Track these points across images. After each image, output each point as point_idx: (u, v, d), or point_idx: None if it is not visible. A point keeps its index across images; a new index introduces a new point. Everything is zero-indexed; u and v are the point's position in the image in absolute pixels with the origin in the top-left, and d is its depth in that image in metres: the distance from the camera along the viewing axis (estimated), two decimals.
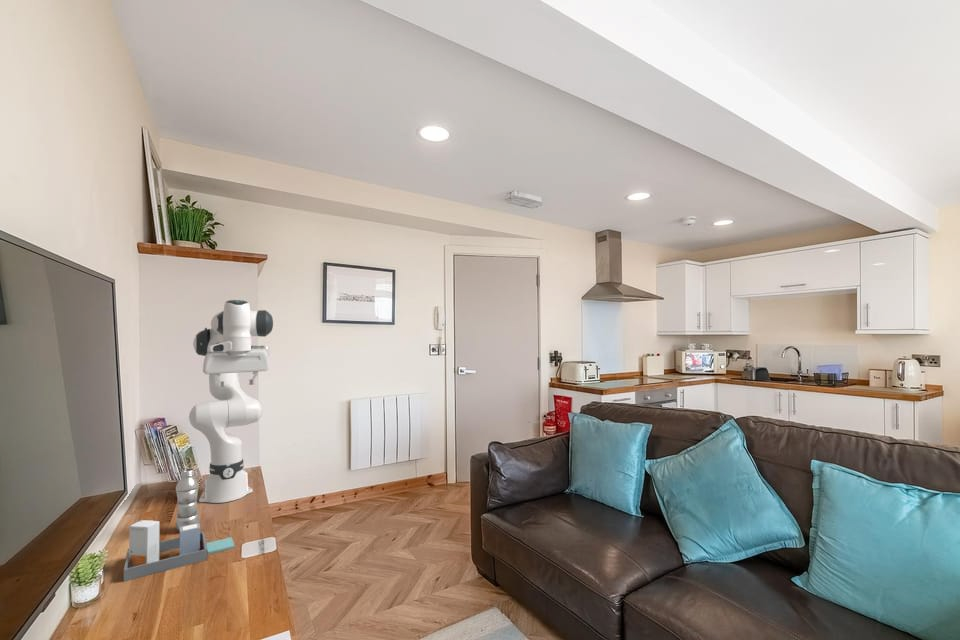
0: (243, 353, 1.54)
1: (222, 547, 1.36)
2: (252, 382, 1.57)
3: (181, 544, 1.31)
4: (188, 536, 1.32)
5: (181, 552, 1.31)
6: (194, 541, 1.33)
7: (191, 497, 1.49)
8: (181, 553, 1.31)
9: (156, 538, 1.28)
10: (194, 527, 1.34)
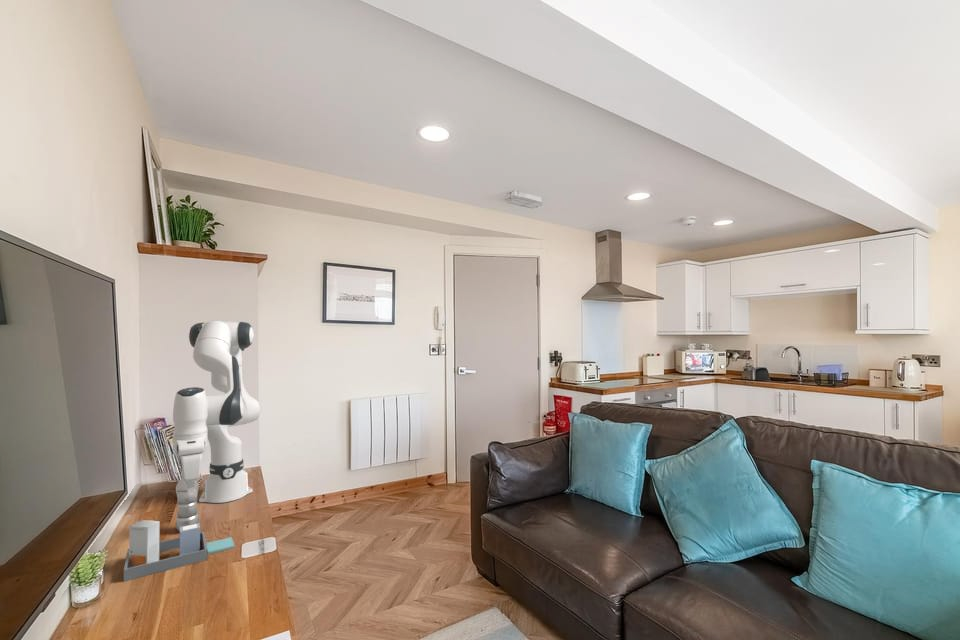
0: None
1: (222, 547, 1.36)
2: None
3: (181, 544, 1.31)
4: (188, 536, 1.32)
5: (181, 552, 1.31)
6: (194, 541, 1.33)
7: (191, 497, 1.49)
8: (181, 553, 1.31)
9: (156, 538, 1.28)
10: (194, 527, 1.34)
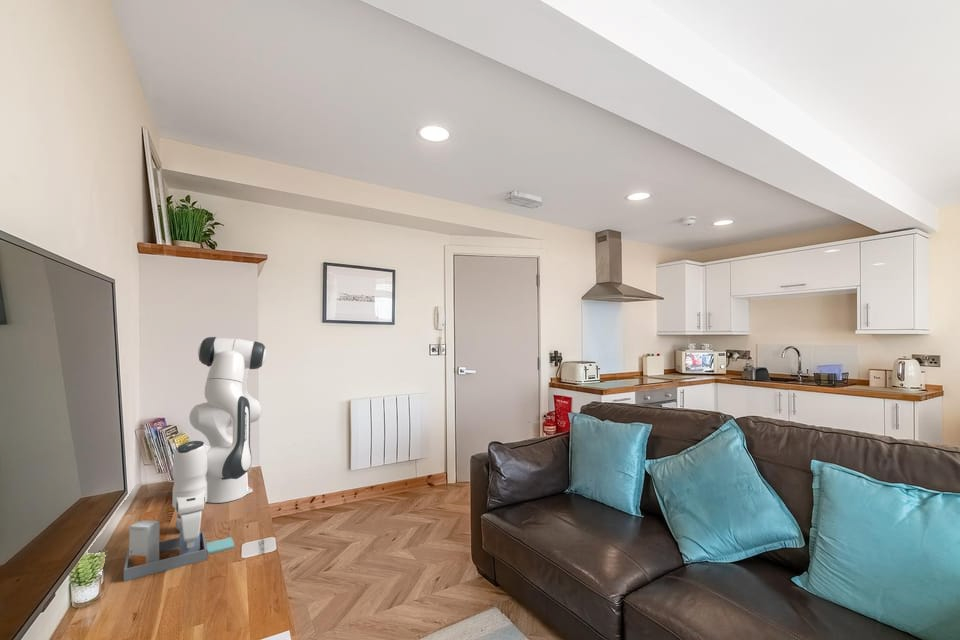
0: None
1: (222, 547, 1.36)
2: None
3: (181, 544, 1.31)
4: None
5: (181, 552, 1.31)
6: (194, 541, 1.33)
7: None
8: (181, 553, 1.31)
9: (156, 538, 1.28)
10: None
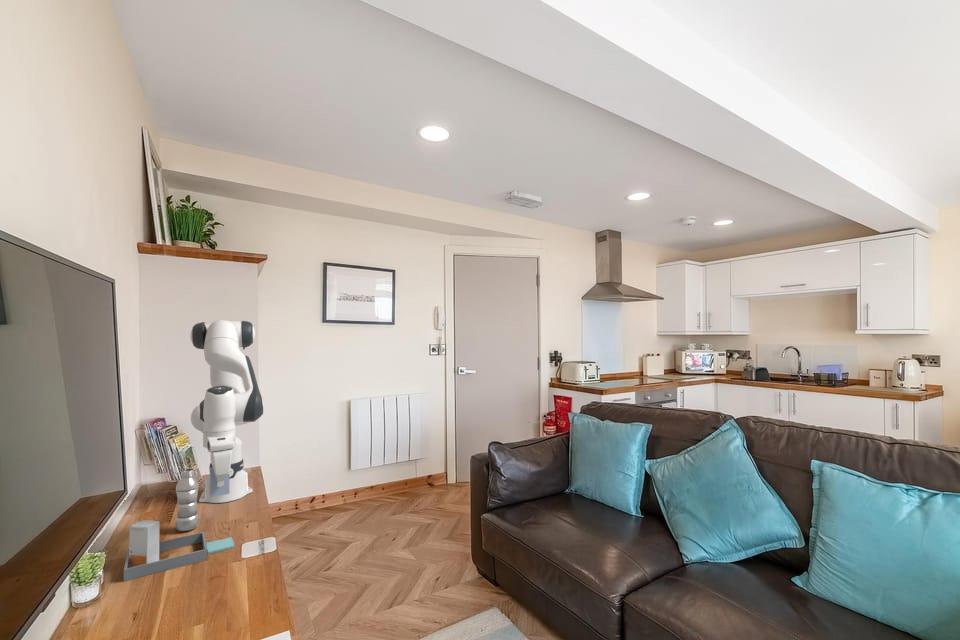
0: None
1: (222, 547, 1.36)
2: None
3: (212, 483, 1.36)
4: None
5: (212, 490, 1.36)
6: None
7: (191, 497, 1.49)
8: (212, 491, 1.36)
9: (156, 538, 1.28)
10: None
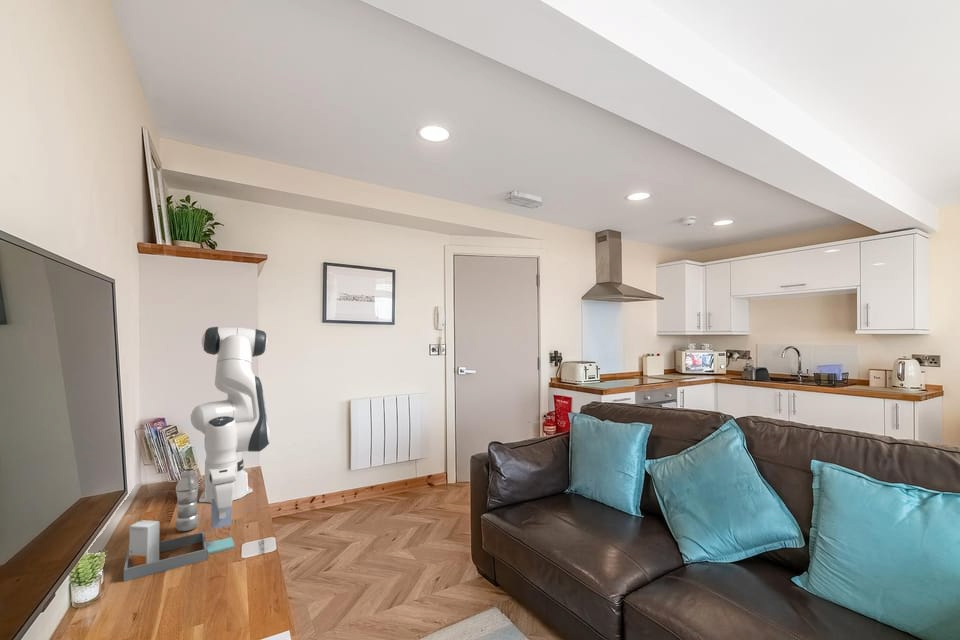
0: None
1: (222, 547, 1.36)
2: None
3: (214, 515, 1.36)
4: None
5: (214, 522, 1.36)
6: None
7: (191, 497, 1.49)
8: (214, 523, 1.36)
9: (156, 538, 1.28)
10: None
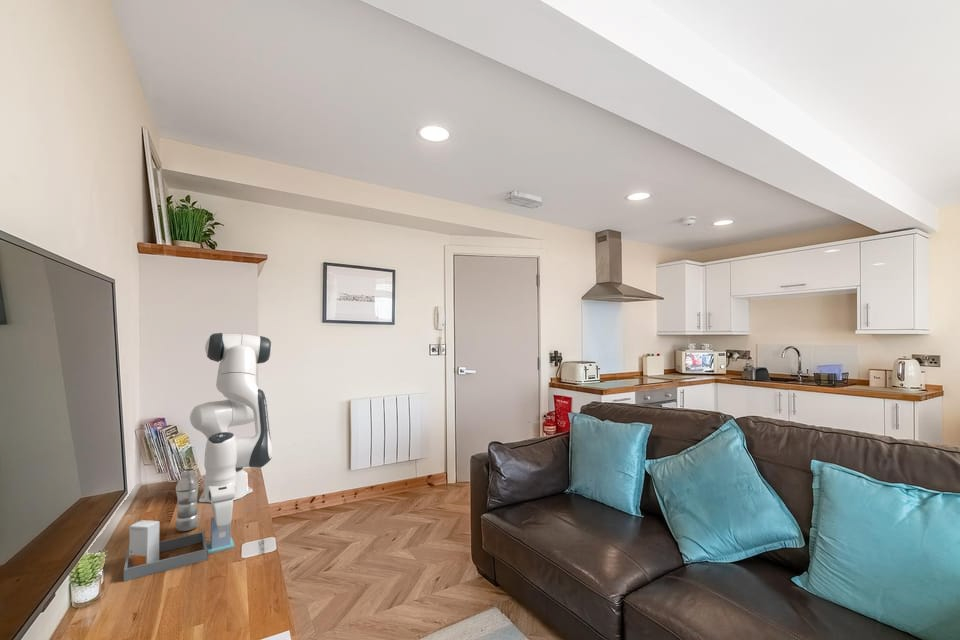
0: None
1: (222, 547, 1.36)
2: None
3: (213, 534, 1.36)
4: None
5: (213, 542, 1.36)
6: None
7: (191, 497, 1.49)
8: (213, 543, 1.36)
9: (156, 538, 1.28)
10: None
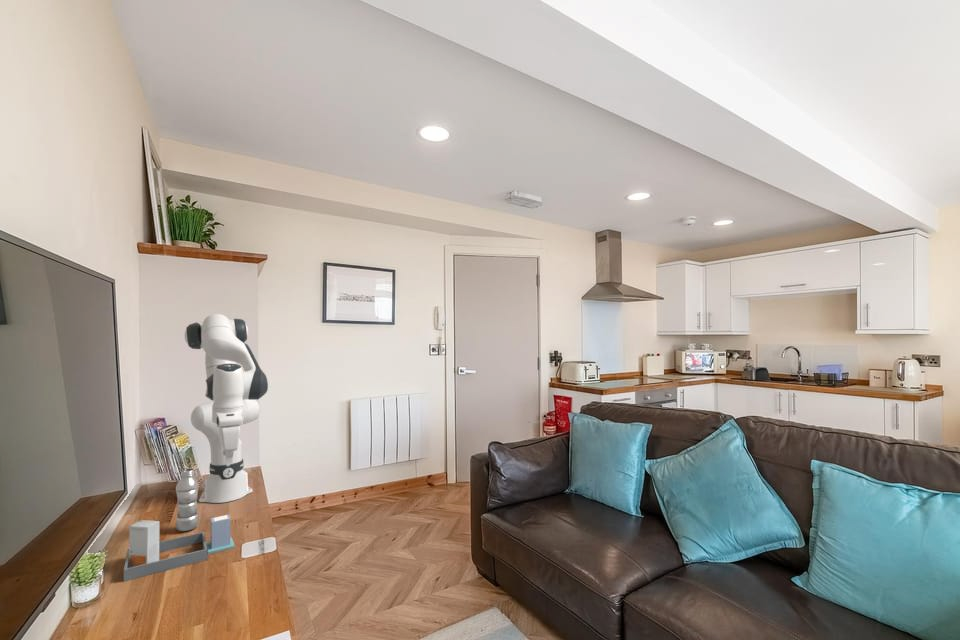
0: None
1: (222, 547, 1.36)
2: None
3: (213, 534, 1.36)
4: (219, 527, 1.37)
5: (213, 542, 1.36)
6: (224, 531, 1.37)
7: (191, 497, 1.49)
8: (213, 543, 1.36)
9: (156, 538, 1.28)
10: (225, 518, 1.38)
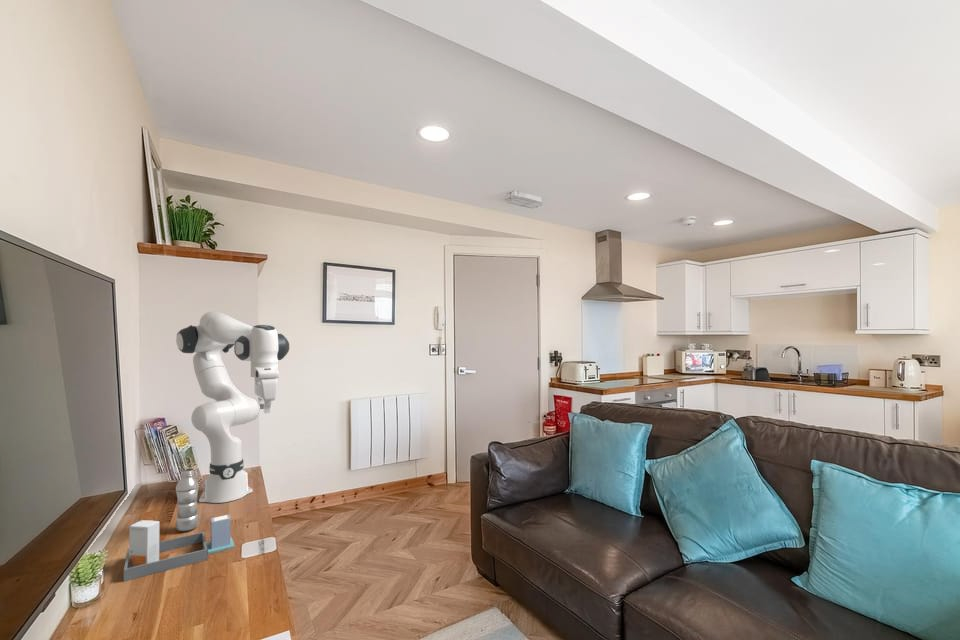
0: None
1: (222, 547, 1.36)
2: None
3: (213, 534, 1.36)
4: (219, 527, 1.37)
5: (213, 542, 1.36)
6: (224, 531, 1.37)
7: (191, 497, 1.49)
8: (213, 543, 1.36)
9: (156, 538, 1.28)
10: (225, 518, 1.38)
